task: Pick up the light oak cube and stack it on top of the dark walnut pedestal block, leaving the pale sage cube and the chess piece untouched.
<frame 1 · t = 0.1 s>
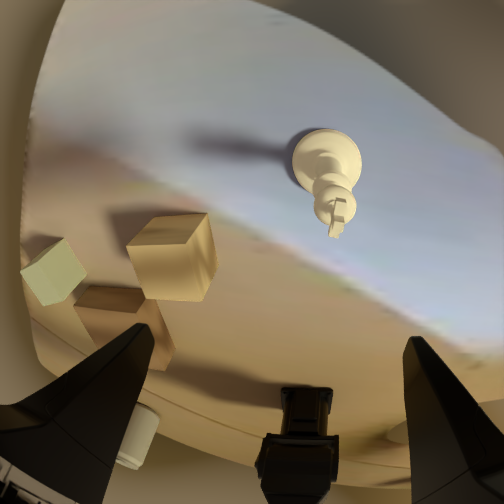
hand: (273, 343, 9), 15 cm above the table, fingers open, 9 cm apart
beverage can: (145, 409, 48), on the table
oak cube: (186, 240, 26), on the table
chess piece: (326, 162, 20), on the table
pedestal: (133, 316, 33), on the table
sage block: (65, 260, 31), on the table
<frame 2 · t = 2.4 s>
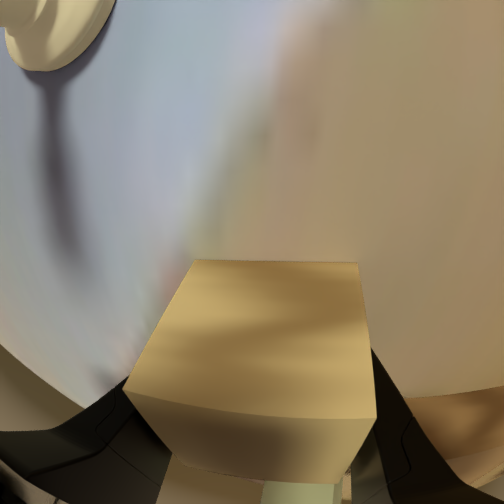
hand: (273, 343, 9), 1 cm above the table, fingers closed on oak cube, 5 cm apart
oak cube: (277, 321, 10), on the table, touching gripper
chess piece: (64, 4, 6), on the table
pedestal: (437, 425, 14), on the table
sage block: (308, 468, 19), on the table
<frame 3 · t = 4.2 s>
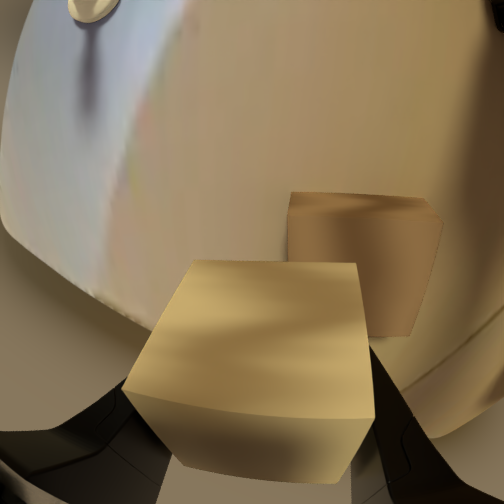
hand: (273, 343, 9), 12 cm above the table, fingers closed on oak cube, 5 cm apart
oak cube: (276, 321, 10), point 11 cm above the table, touching gripper
pedestal: (354, 251, 21), on the table
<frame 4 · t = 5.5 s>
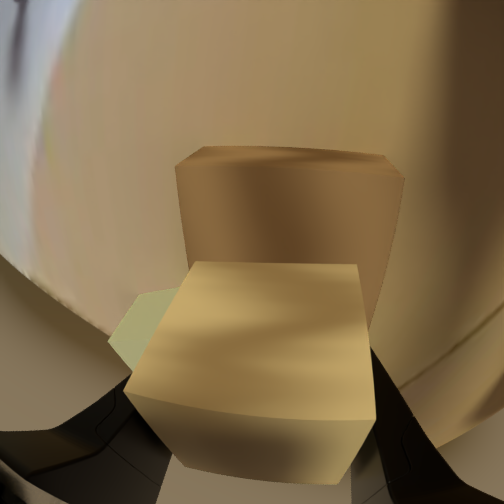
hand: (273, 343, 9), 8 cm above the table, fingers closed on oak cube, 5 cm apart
oak cube: (277, 322, 10), point 7 cm above the table, touching gripper
pedestal: (290, 227, 17), on the table
sage block: (182, 315, 22), on the table
when the fingers open (5 cm above the table, at t = 6.5 s): oak cube stays where it is, point 4 cm above the table.
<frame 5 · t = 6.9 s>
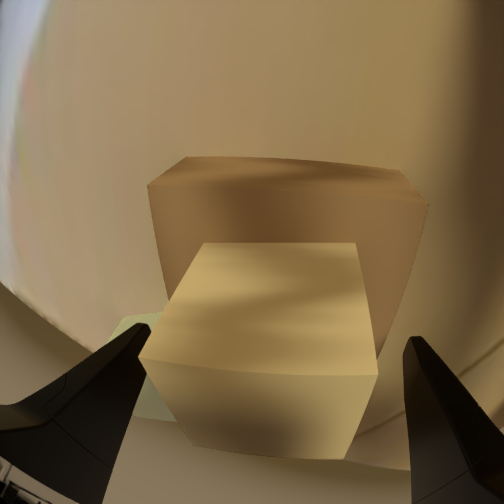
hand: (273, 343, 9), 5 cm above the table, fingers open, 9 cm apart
oak cube: (281, 302, 11), point 4 cm above the table
pedestal: (288, 249, 14), on the table
sage block: (169, 339, 19), on the table
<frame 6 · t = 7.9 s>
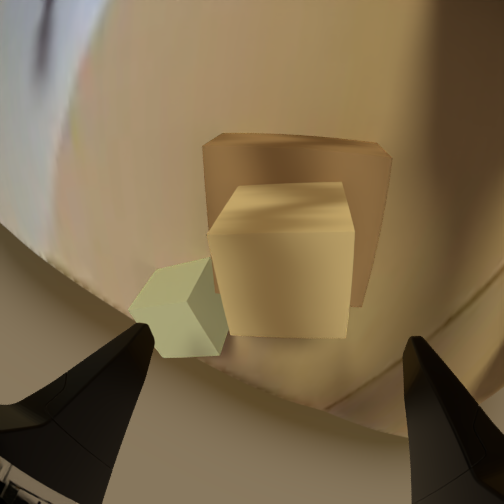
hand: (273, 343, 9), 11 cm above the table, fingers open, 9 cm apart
oak cube: (292, 229, 15), point 4 cm above the table
pedestal: (296, 204, 19), on the table
sage block: (195, 288, 24), on the table
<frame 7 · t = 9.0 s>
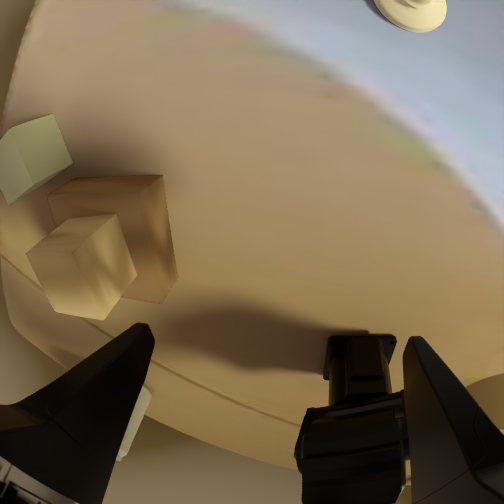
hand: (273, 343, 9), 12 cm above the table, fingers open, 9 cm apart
beverage can: (134, 383, 39), on the table
oak cube: (101, 246, 21), point 4 cm above the table, touching pedestal
pedestal: (125, 225, 24), on the table, touching oak cube
sage block: (47, 150, 21), on the table
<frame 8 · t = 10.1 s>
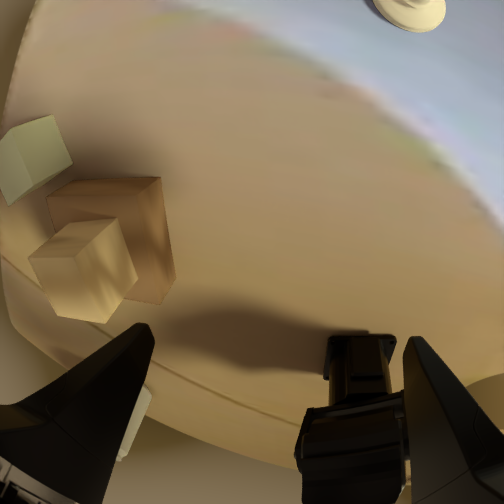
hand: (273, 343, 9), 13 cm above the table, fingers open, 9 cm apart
beverage can: (134, 383, 39), on the table
oak cube: (102, 250, 21), point 4 cm above the table
pedestal: (124, 226, 24), on the table
sage block: (47, 150, 21), on the table
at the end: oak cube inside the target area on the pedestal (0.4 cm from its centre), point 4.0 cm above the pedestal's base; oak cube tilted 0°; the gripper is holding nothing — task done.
